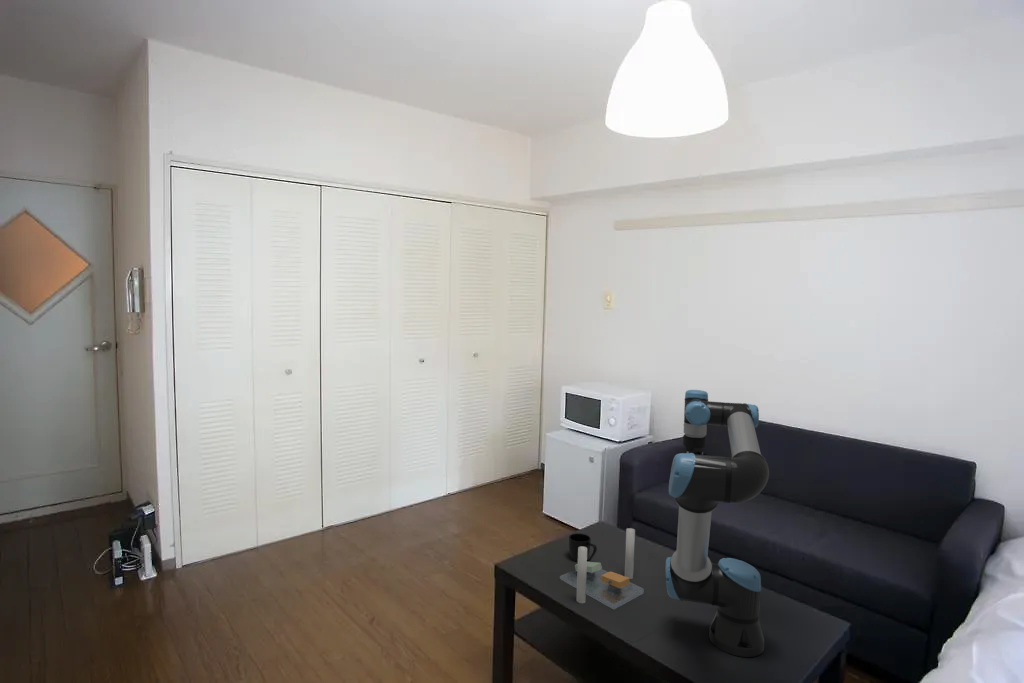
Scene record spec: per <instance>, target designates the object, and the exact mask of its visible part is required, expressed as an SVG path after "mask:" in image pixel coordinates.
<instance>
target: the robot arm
mask: <svg viewBox="0 0 1024 683" xmlns="http://www.w3.org/2000/svg"><path fill="white" fill-rule="evenodd" d="M683 414H684V416H683V417H684V418H683V435H682V445H683V447H684V448H685V451H684V452H682V453H676V454H675V455H674V457H673V460H672V463H671V468H670V473H669V474H670V475H669V481H668V495H669V496H670V497H672V498H674V501H675V503H676V504H677V506H678V520H677V521H678V523H677V539H676V540H677V541H676V550H675V551H674V552H673V554H672V556H668V557H666V560H665V586H666V591H667V592H666V593H667V595H668V596H669V597H670V598H671V599H674V600H679V601H681V602H690V603H696V604H703V605H709V606H715V607H716V612H715V615H714V617H713V619H712V621H711V624H710V626H709V634H708V636H709V640H710V642H711V643H712V644H713V645H714V646H715V647H716V648H718V649H719V650H721V651H723V652H725V653H727V654H730V655H733V656H737V657H743V658H752V657H757V656H760V655H761V654H763V652H764V651H765V637H764V634H763V631H762V630H763V629H762V627H761V623H760V607H761V603H760V602H761V592H762V582H761V581H762V579H761V578H762V577H761V574H760V572H759V571H758V570H757V569H756V567H754V566H753V565H751V564H749V563H747V562H746V561H743V560H740V559H737V558H734V557H733V558H732V557H726V558H725V557H723V558H721V559H719V561H718V563H713V562H712V561H711V559H710V557H709V556H708V553H709V542H710V532H711V522H712V512H713V511H715V509H717V507H718V506H719V503H726V504H742V503H745V502H749V501H750V500H753V499H754V498H756V497H757V496H758V495H760V493H762V491H763V490H764V489H765V487H766V486H767V483H768V481H769V477H770V469H769V465H768V461H767V459H766V458H765V457H764V455H762V453H761V450H760V449H761V448H760V444H759V440H758V437H757V432H756V429H755V428H758V426H759V422H760V419H759V418H760V414H759V407H758V405H756V404H751V403H741V402H740V403H739V402H721V401H711V400H710V401H709V393H708V392H707V391H705V390H702V389H701V390H699V389H688V390H686V391H685V393H684V413H683ZM707 425H708V426H720V427H722V426H723V427H727V432H728V433H727V434H728V438H729V446H730V451H731V456H728V457H727V456H720V455H707V453H706V452H703V449H705V448H706V446H707V437H706V436H707V432H708V431H707V430H708V429H707Z"/></svg>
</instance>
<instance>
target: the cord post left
mask: <svg viewBox="0 0 1024 683" xmlns="http://www.w3.org/2000/svg"><path fill="white" fill-rule="evenodd" d="M587 560H588V559H587V547H584V546H580V547H578V562H577V564H578V567H577V589H576V597H575V598H576V602H577V603H579V604H585V603H586V600H587V599H586V597H587V594H586V573H587Z"/></svg>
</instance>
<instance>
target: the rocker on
mask: <svg viewBox="0 0 1024 683" xmlns="http://www.w3.org/2000/svg"><path fill="white" fill-rule="evenodd" d="M577 567H578V563H576V564H574V568H575V569H574V570H576V571H577ZM600 569H603V566H602V563H601V562H596V561H590V562H587V572H590V573H593V572H596V571H598V570H600Z"/></svg>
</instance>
